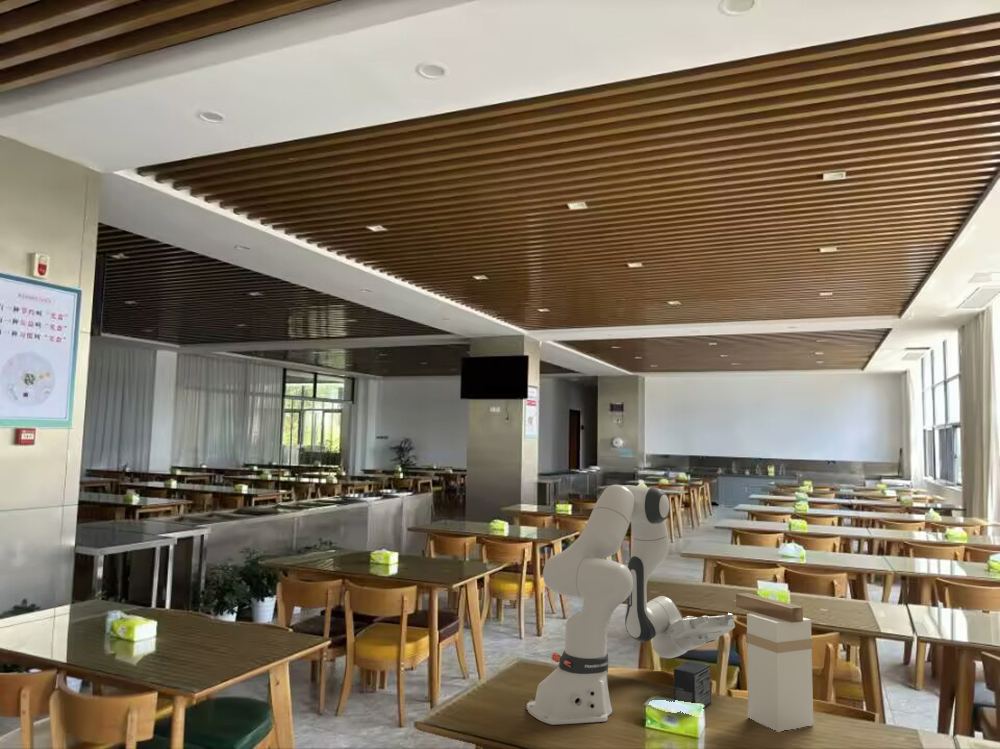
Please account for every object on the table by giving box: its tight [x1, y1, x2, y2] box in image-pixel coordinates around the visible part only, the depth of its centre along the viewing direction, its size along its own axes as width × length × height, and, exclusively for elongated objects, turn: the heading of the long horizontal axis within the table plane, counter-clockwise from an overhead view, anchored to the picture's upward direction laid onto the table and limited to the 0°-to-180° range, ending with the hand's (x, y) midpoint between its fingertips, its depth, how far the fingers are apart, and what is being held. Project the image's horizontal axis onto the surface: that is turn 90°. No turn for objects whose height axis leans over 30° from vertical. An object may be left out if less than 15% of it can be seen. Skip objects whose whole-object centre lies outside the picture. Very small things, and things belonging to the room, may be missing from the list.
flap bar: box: [735, 592, 804, 623], centre depth 182 cm, size 4×19×4 cm, turn 25°
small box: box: [673, 660, 712, 708], centre depth 186 cm, size 11×6×10 cm, turn 141°
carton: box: [745, 612, 814, 733], centre depth 177 cm, size 12×10×26 cm
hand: (718, 617), depth 198 cm, fingers open, 8 cm apart
